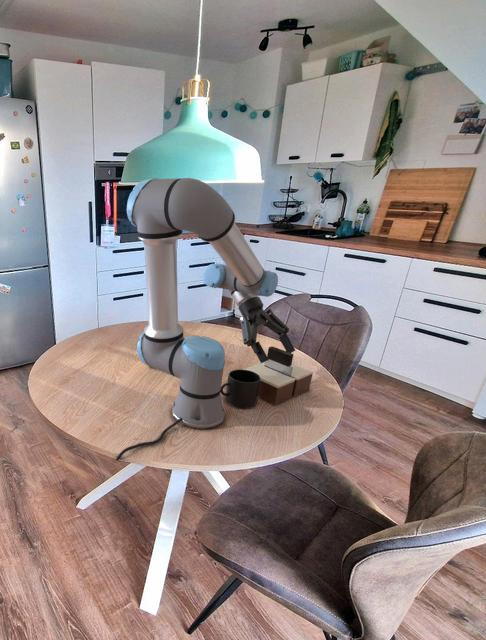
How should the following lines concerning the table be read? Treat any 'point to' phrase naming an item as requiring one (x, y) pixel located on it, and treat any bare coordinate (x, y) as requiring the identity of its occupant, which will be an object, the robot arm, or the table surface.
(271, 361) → the dough scraper
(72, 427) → the table surface
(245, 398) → the mug
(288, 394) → the split beige slab
